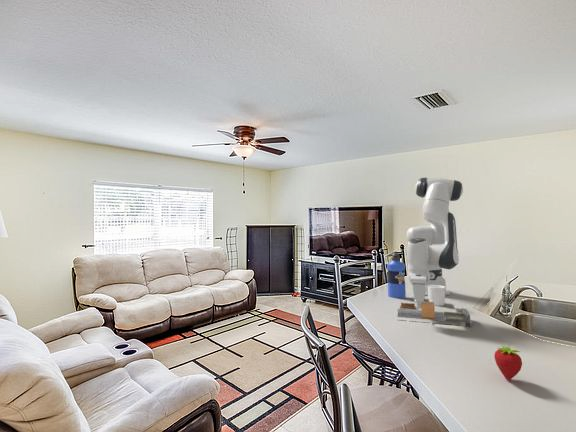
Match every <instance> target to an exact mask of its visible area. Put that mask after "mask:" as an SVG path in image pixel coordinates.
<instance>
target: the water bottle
mask: <svg viewBox="0 0 576 432" xmlns="http://www.w3.org/2000/svg"><path fill="white" fill-rule="evenodd" d="M400 259H401V258H400V254H399V253H397V252H393V253H392V254H391V261H389V262H387V263H386V271H387V276H388V278H387V295H388V297H389V298H393V299H404V298H406V297H407V295H406V294H407V293H406V280H405V271H406V264H405V263H404V262H401V261H400Z"/></svg>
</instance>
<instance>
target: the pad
mask: <svg viewBox="0 0 576 432" xmlns="http://www.w3.org/2000/svg"><path fill="white" fill-rule="evenodd" d="M399 309H409V310H417V305H416V303H415V302H414V303H412V302H410V303H409V302H401V303H400V305H399Z"/></svg>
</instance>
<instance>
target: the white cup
mask: <svg viewBox="0 0 576 432" xmlns="http://www.w3.org/2000/svg"><path fill="white" fill-rule="evenodd" d="M427 288H428V295H427V297H428V298H427V299H428V302H434V307H435V306H437V307H438V306H440V307H442V306H445V302H446V295H445V286H441V285H428V286H427Z"/></svg>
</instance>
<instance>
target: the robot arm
mask: <svg viewBox="0 0 576 432" xmlns="http://www.w3.org/2000/svg"><path fill="white" fill-rule="evenodd" d="M414 189H415V190H414V191H415V194H416V196H418V197H420V198H422V199H423V204H422V217H423V219H424V221H426V222H427V223H430V225H420V226H419V225H417V226H412V227H410V228H408V229H407V230H406V231H407V232H406V235H405V236H406V240H407V248H406V260H407V280H408V281H409V282H410V285H411V289H412V295H413V300H414V303H416V309H417V310H422V309H421V308H422V306H421V304H422V303H423V302H425V296H428V288H427V286H428V285H441V286H445V296H447V295H450V294H451V293H450V291H448V290H447V284H446V282H447V281H446V278H444V277H443V269H445V270H452V269H454V268H456V266H457V265H458V264H459V261H460V259H459V250H458V240H457V225H456V218H455V215H454V214H453V213H452V212H450V209H449V207H450V202H455V201H458V200H459V199H460V198H461V197H462V195H463V193H464V187H463V183H462V182H461V181H460V180H455V179H454V180H452V179H447V178H443V177H441V178H440V177H439V178H438V177H437V178H436V177H421V178H419V179H418V180H417V182H416V183H415V186H414Z"/></svg>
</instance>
